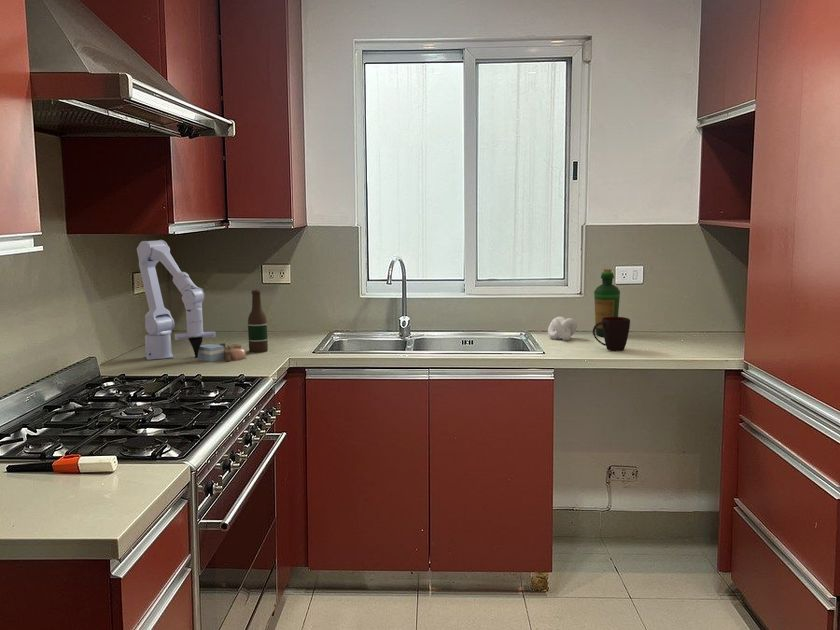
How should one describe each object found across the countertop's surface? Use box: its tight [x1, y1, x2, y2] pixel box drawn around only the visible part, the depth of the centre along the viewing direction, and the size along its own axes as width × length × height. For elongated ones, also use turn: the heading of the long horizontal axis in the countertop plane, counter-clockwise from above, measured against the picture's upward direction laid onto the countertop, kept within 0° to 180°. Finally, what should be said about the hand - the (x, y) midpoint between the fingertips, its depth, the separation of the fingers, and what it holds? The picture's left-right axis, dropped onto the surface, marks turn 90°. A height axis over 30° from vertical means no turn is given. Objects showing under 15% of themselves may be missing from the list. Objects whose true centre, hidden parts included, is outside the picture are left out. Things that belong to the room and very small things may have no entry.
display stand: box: [219, 342, 232, 363], centre depth 300 cm, size 11×16×4 cm
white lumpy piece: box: [547, 316, 578, 342], centre depth 333 cm, size 11×12×9 cm
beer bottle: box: [247, 289, 269, 354], centre depth 314 cm, size 8×8×24 cm
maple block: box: [226, 343, 242, 350], centre depth 307 cm, size 4×4×4 cm
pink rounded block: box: [229, 347, 246, 361], centre depth 300 cm, size 6×6×4 cm
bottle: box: [593, 268, 621, 338], centre depth 337 cm, size 11×11×28 cm
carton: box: [197, 343, 225, 363], centre depth 300 cm, size 6×8×5 cm
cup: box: [592, 316, 631, 352], centre depth 307 cm, size 10×14×12 cm
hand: (196, 357), depth 297 cm, fingers closed, pressing on carton
